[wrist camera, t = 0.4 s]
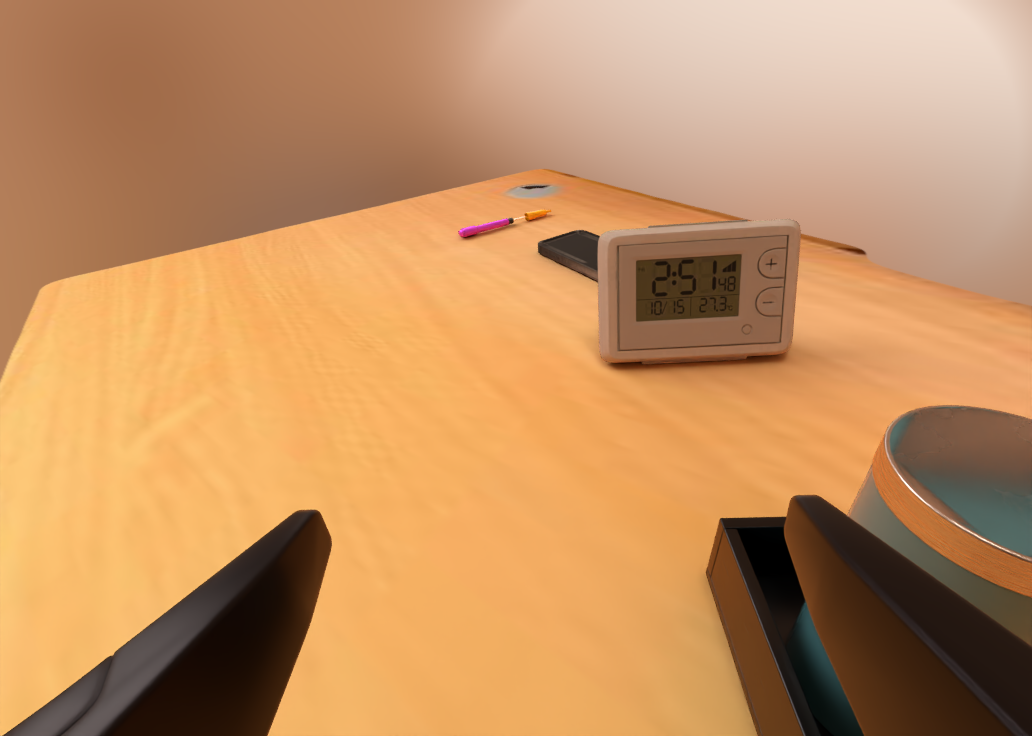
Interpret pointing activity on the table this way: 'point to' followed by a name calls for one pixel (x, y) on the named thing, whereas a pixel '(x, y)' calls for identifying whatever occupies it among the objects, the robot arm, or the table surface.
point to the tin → (940, 527)
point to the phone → (574, 251)
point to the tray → (761, 621)
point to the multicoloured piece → (499, 223)
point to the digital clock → (697, 291)
